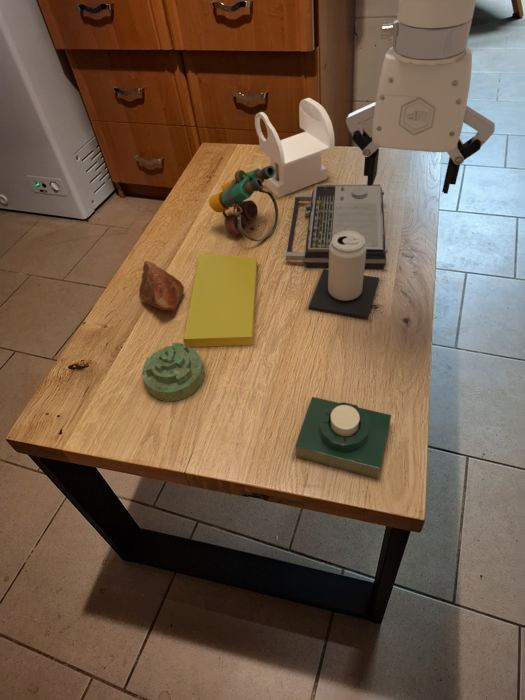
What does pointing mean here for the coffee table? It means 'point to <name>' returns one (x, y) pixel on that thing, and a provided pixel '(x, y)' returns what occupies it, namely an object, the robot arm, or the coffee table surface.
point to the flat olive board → (222, 302)
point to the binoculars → (242, 200)
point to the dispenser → (343, 439)
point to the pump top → (344, 420)
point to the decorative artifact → (173, 372)
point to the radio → (341, 222)
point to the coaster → (347, 308)
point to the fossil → (160, 287)
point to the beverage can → (346, 265)
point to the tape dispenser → (297, 149)
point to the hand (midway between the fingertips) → (408, 184)
